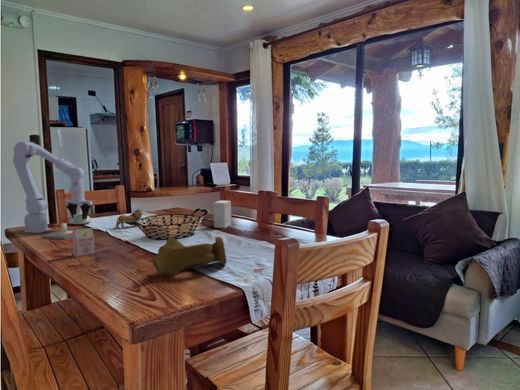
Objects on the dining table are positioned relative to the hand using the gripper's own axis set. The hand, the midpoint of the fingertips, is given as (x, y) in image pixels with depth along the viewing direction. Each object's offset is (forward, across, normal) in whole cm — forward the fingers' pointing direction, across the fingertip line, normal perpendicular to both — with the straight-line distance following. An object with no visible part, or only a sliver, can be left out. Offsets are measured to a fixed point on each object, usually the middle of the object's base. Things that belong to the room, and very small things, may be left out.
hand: (79, 218), depth 181 cm
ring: (+1, 0, 0) cm, 1 cm away
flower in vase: (+6, +10, -12) cm, 17 cm away
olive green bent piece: (+6, -80, +45) cm, 92 cm away
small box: (+6, -68, -22) cm, 72 cm away
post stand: (+6, -1, +12) cm, 13 cm away
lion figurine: (+6, -21, -10) cm, 24 cm away
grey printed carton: (+6, -32, +37) cm, 49 cm away
